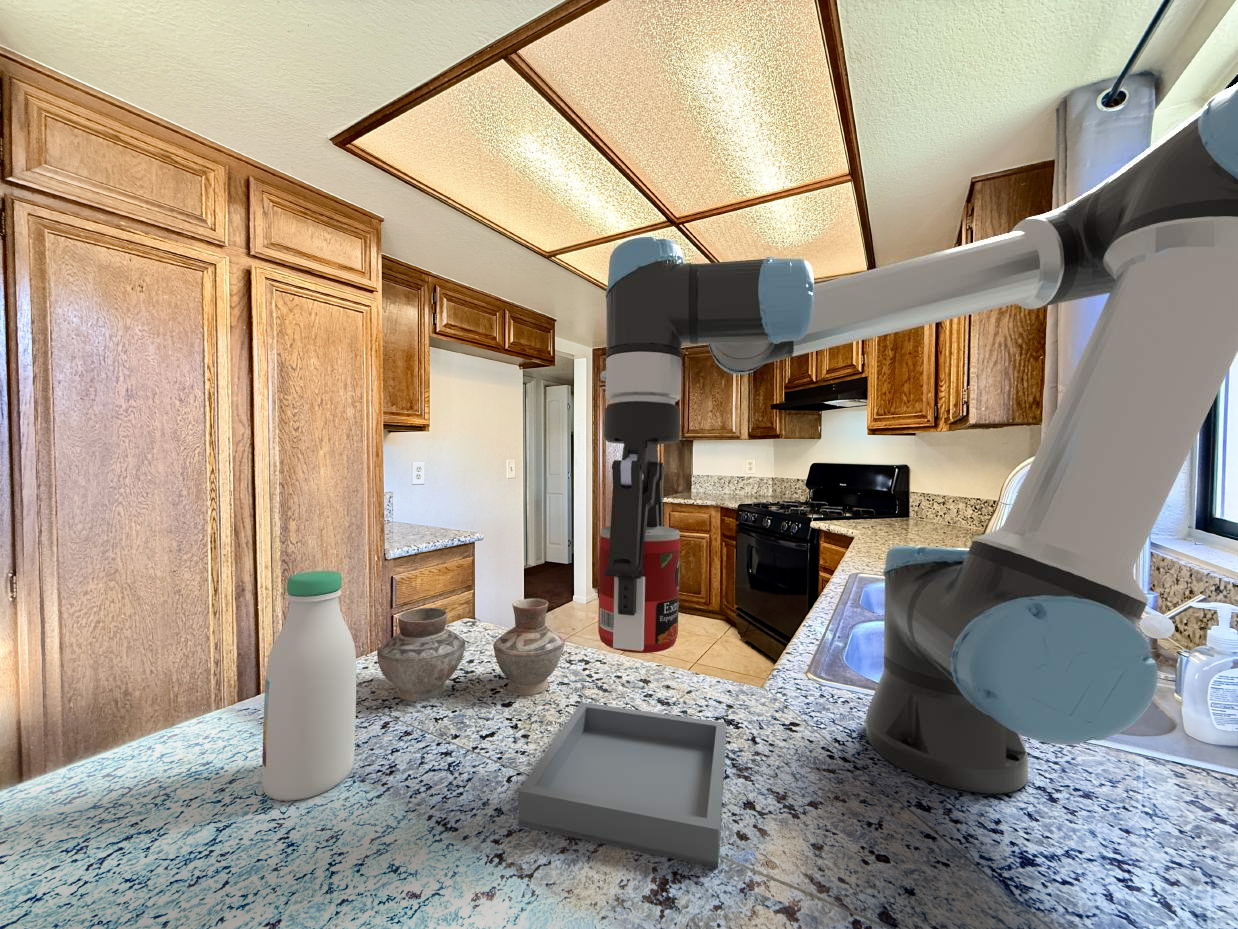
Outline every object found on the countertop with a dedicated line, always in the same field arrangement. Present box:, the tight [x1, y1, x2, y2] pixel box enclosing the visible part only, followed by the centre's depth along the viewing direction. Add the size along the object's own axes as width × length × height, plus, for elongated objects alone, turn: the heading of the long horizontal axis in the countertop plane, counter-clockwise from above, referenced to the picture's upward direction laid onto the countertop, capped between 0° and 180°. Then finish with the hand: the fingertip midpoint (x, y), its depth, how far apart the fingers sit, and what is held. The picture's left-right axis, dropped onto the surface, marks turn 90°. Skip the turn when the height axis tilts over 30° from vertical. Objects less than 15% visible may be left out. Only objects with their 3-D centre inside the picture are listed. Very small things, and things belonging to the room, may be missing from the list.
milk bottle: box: [261, 570, 357, 802], centre depth 49 cm, size 8×8×20 cm
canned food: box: [597, 525, 681, 654], centre depth 49 cm, size 8×8×11 cm
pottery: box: [376, 598, 566, 702], centre depth 69 cm, size 11×25×12 cm, turn 99°
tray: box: [517, 701, 727, 869], centre depth 49 cm, size 17×17×3 cm
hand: (637, 633), depth 49 cm, fingers closed on canned food, 8 cm apart
